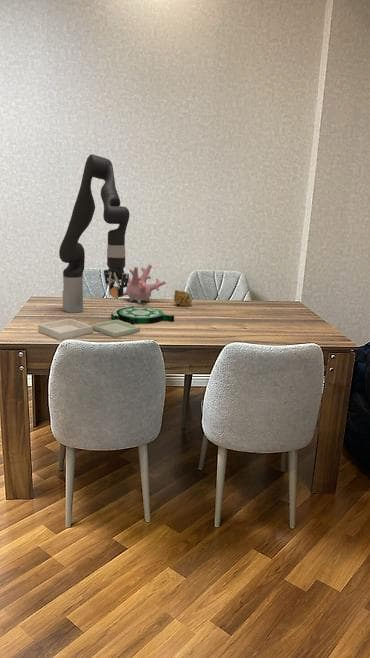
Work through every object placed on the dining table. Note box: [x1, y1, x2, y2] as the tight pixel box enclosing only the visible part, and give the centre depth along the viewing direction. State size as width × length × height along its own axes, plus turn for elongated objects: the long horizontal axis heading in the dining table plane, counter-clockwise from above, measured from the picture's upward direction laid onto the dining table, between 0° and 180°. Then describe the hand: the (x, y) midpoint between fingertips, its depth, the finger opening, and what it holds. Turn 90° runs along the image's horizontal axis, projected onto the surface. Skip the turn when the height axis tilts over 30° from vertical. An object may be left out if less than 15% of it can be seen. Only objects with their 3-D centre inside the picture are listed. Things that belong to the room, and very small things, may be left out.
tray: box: [90, 319, 141, 338], centre depth 212 cm, size 16×14×2 cm
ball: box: [109, 285, 120, 299], centre depth 208 cm, size 5×5×5 cm
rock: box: [173, 289, 193, 308], centre depth 264 cm, size 12×9×10 cm
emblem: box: [110, 305, 175, 325], centre depth 233 cm, size 25×3×30 cm
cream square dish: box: [37, 318, 94, 341], centre depth 206 cm, size 16×16×3 cm
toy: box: [123, 264, 167, 304], centre depth 264 cm, size 18×21×20 cm
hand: (116, 295), depth 208 cm, fingers closed on ball, 5 cm apart
